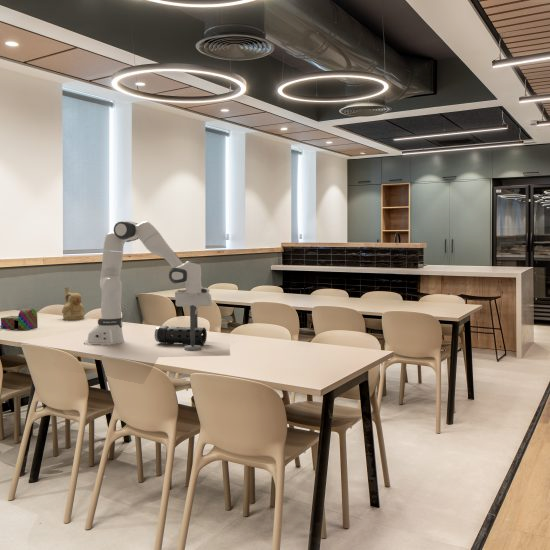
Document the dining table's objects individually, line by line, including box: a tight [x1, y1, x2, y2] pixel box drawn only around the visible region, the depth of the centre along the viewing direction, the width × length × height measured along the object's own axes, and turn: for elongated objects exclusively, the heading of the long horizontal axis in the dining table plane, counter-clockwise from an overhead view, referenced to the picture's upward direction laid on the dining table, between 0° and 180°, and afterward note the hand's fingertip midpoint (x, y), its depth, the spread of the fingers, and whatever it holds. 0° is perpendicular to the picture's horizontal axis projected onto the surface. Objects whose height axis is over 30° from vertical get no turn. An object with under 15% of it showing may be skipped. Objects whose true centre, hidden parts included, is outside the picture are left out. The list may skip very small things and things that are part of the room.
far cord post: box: [194, 306, 199, 328], centre depth 335 cm, size 9×9×24 cm
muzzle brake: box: [154, 325, 208, 346], centre depth 320 cm, size 10×28×10 cm, turn 78°
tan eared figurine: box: [61, 287, 85, 321], centre depth 424 cm, size 17×20×25 cm
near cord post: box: [183, 305, 202, 352], centre depth 305 cm, size 9×9×24 cm
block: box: [0, 308, 39, 331], centre depth 386 cm, size 25×17×14 cm
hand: (193, 314), depth 319 cm, fingers closed
